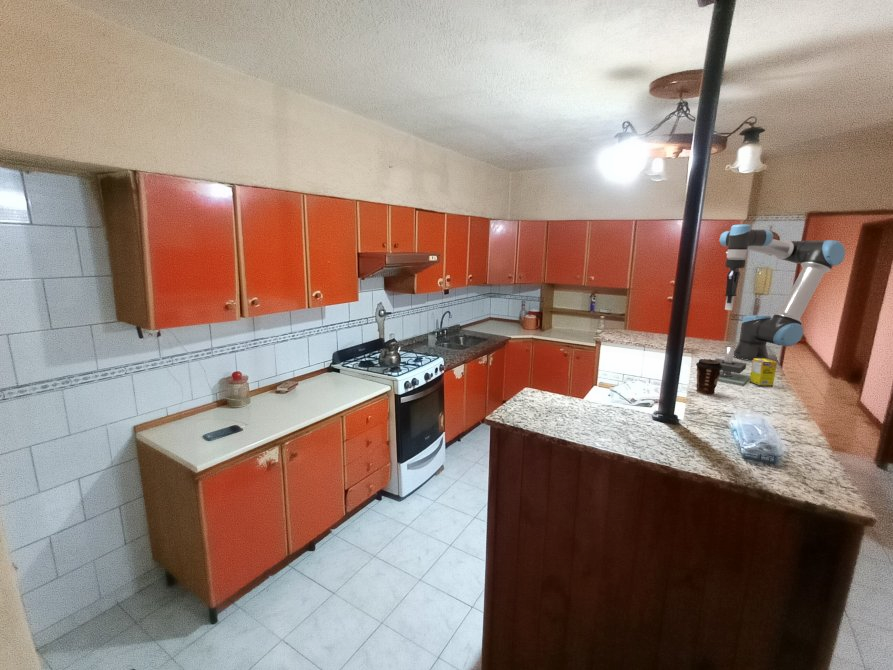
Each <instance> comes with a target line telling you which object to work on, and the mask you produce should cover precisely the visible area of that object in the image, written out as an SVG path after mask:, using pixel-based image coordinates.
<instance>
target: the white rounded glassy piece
mask: <svg viewBox="0 0 893 670" xmlns="http://www.w3.org/2000/svg"><path fill="white" fill-rule="evenodd" d="M735 349H736V347H733V346H726V347H725V354H724V359H723V360H724V364H730V365H732V361H734V357H733V355H734V351H735ZM722 371H723V370H722ZM720 375H721V376H725V377H732V374H731V372H728V371H723V372H722V373H721V374H720Z"/></svg>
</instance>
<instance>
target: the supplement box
mask: <svg viewBox="0 0 893 670" xmlns="http://www.w3.org/2000/svg"><path fill="white" fill-rule="evenodd" d="M777 365H778V362H777V361H775V360H772V359H770V358H768V359H758V358H754V359H753V361H752V364H751V372H750V375H749V376H750V380H749V381H748V383H750V384H752V385H754V386H756V387H758V388H773V387H774V382H775V376H776V372H777V371H776V370H777Z"/></svg>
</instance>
